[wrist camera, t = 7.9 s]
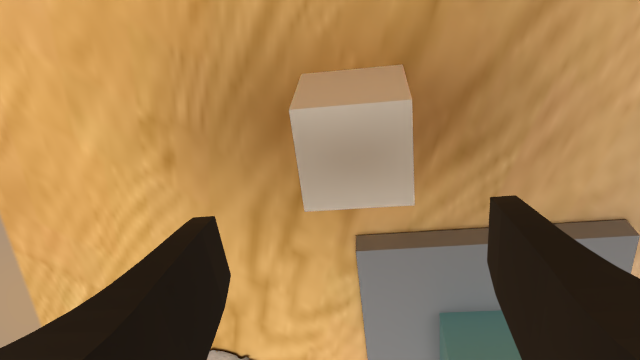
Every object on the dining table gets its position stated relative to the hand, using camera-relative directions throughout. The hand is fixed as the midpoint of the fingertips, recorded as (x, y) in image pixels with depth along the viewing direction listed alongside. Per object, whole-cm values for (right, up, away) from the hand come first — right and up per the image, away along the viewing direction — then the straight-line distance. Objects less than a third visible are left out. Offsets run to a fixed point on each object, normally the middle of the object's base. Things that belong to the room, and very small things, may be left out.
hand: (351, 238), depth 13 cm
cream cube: (+1, +4, +7) cm, 9 cm away
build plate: (+8, -6, +12) cm, 16 cm away
